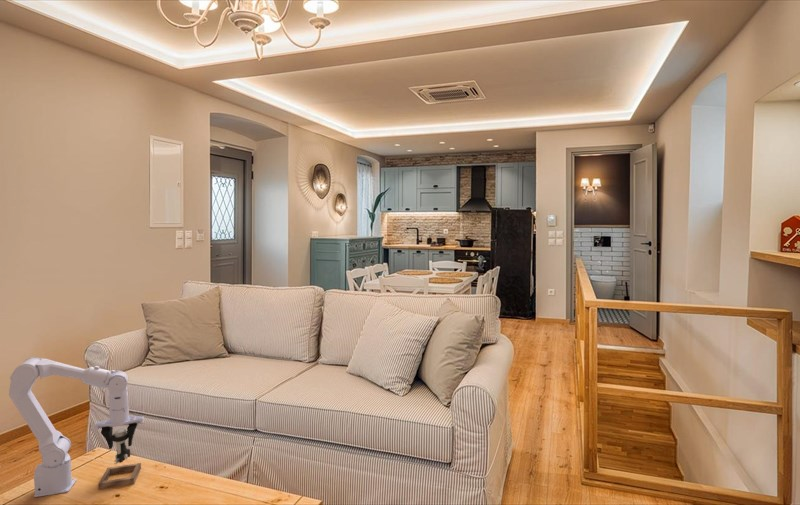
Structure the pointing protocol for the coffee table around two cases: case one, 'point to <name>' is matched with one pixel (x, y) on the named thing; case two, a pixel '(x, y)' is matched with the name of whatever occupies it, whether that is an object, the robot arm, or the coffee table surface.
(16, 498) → the coffee table surface
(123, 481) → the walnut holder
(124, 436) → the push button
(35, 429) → the robot arm
